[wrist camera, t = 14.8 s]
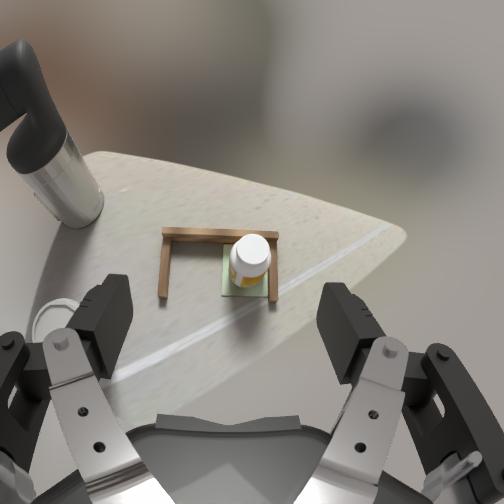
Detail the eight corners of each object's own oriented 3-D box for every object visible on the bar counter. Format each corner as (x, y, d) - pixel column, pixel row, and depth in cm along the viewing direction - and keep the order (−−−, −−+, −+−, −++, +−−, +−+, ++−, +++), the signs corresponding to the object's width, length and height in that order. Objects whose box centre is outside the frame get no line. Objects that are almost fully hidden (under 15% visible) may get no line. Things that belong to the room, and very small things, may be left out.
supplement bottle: (270, 266, 44) (283, 242, 35) (252, 295, 42) (261, 278, 33) (240, 248, 45) (245, 220, 36) (221, 276, 43) (222, 254, 34)
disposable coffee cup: (134, 330, 39) (105, 321, 28) (110, 384, 35) (74, 392, 24) (86, 301, 39) (47, 282, 28) (63, 352, 36) (20, 348, 24)
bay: (159, 297, 41) (155, 293, 38) (165, 234, 44) (162, 226, 41) (276, 302, 43) (280, 298, 40) (274, 239, 46) (278, 231, 43)
